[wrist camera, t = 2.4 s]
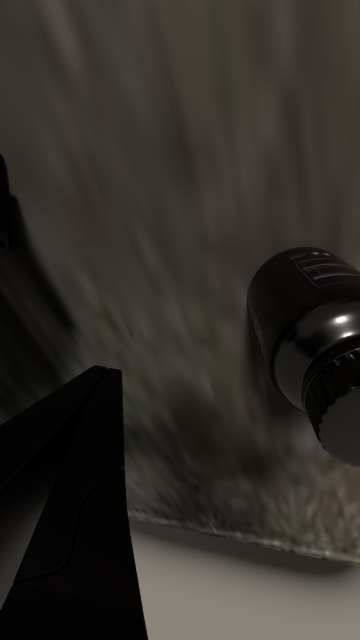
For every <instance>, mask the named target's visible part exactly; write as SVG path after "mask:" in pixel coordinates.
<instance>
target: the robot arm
mask: <svg viewBox="0 0 360 640" xmlns="http://www.w3.org/2000/svg"><path fill="white" fill-rule="evenodd" d="M10 225H11V223H10V215H9V207H8V200H7V192H6V187H5V182H4V174H3V167H2V159H1V155H0V251H8V250H10V249H12V245H13V244H12V237H11V229H10ZM2 241H3V242H4V243H5V245H6V246H4V245H3V243H2ZM0 640H148V636H147V630H146V625H145V619H144V613H143V607H142V601H141V595H140V589H139V583H138V577H137V572H136V565H135V559H134V553H133V547H132V542H131V536H130V527H129V520H128V512H127V501H126V486H125V458H124V424H123V389H122V371H121V370H119V369H114V368H109V369H108V368H107V367H103V366H97V365H95V366H92V367H91V368H89V369H87V370H86V371H84V372H83V373H81V374H80V375H78V376H77V377H75V378H74V379H72V380H70V381H69V382H67V383H66V384H64V385H63V386H61V387H60V388H58V389H57V390H55V391H53V392H52V393H50V394H49V395H47V396H46V397H44V398H43V399H41V400H40V401H38V402H36V403H35V404H33V405H32V406H30V407H29V408H27V409H26V410H24V411H23V412H21V413H19V414H18V415H16V416H15V417H13V418H12V419H10V420H9V421H7V422H6V423H4V424H2V425H1V426H0Z"/></svg>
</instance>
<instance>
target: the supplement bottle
mask: <svg viewBox="0 0 360 640" xmlns="http://www.w3.org/2000/svg"><path fill="white" fill-rule="evenodd" d="M248 305H249V310H250V314H251V318H252V321H253V324H254V328H255V331H256V334H257V338H258V341H259V344H260V348H261V351H262V354H263V358H264V361H265V364H266V368H267V371H268V374H269V377H270V379H271V382H272V384H273V386H274V388H275V389H276V391H277V392H278V393H279V395H280V396H281V397H282V398H283V399H284V400H285V401H286V402H288V403H289V404H290V405H292V406H293V407H294V408H296V409H298V410H300V411H301V412H304V413H305V415H306V417H307V418H308V420H309V422H310V423H311V424H312V426H313V429H314V431H315V434H316V436H317V438H318V440H319V442H320V443H321V444H322V447H323V448H324V450H325V451H327V452H328V453H329V454H330V455H331V457H333V458H336V459H338V460H339V461H340V462H341V463H346V464H348V465H350V466H352V467H359V468H360V271H359V270H357V269H355V268H354V267H352V266H351V265H349V264H348V263H346V262H345V261H343V260H342V259H340V258H338V257H337V256H335V255H333V254H331V253H330V252H327V251H325V250H322V249H319V248H314V247H298V248H292V249H289V250H286V251H283V252H281V253H279V254H277V255H275V256H273V257H272V258H270V259H269V260H268V261H266V262H265V263H264V264H263V265H262V266H261V267H260V269H259V270H258V271H257V272H256V274H255V276H254V277H253V279H252V282H251V284H250V287H249V292H248Z"/></svg>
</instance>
